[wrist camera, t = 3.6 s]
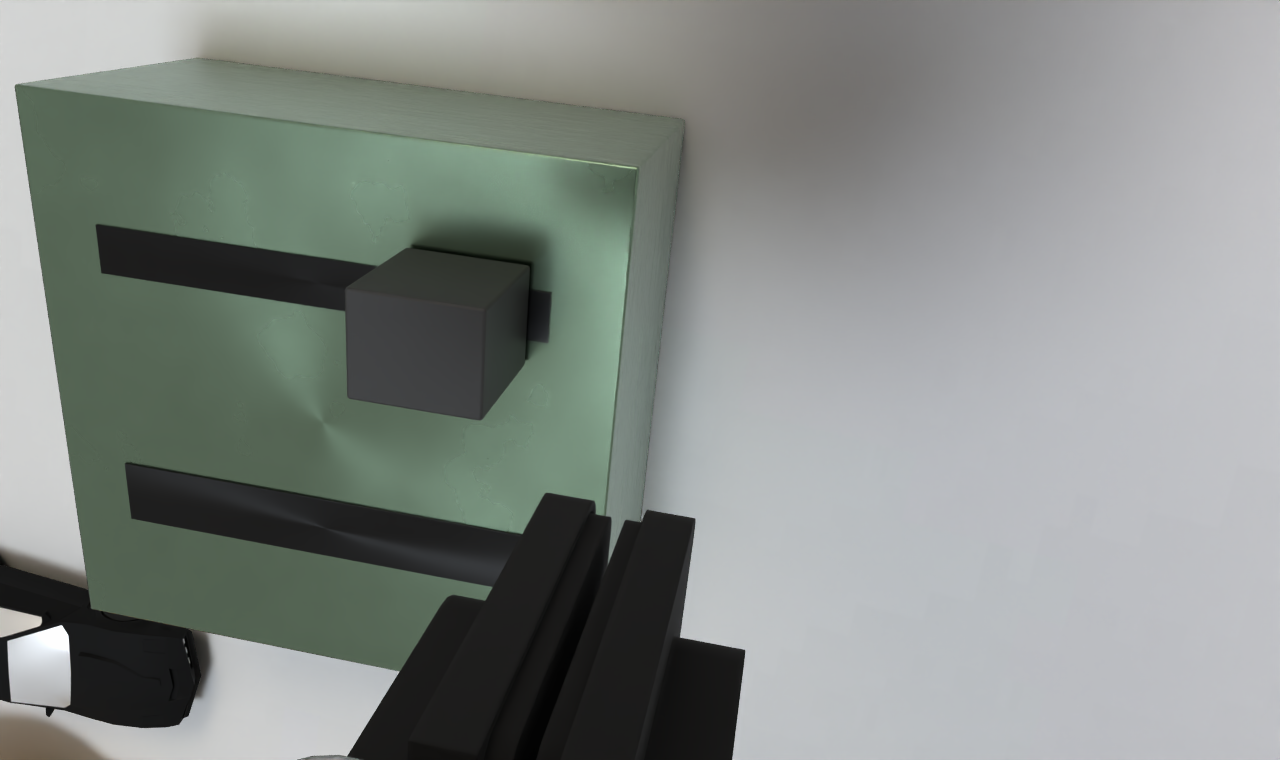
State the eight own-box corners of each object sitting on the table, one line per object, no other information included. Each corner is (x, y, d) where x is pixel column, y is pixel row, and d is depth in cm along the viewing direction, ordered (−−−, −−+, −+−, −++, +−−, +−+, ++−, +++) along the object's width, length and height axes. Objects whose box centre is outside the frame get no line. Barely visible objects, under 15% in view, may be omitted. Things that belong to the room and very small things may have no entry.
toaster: (197, 57, 24) (10, 84, 19) (685, 119, 23) (638, 167, 17) (229, 488, 29) (88, 611, 24) (635, 563, 28) (586, 712, 22)
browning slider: (405, 246, 19) (343, 287, 16) (530, 264, 18) (486, 309, 16) (405, 346, 19) (345, 399, 17) (525, 365, 19) (481, 422, 17)
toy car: (215, 612, 31) (161, 668, 28) (210, 712, 33) (160, 772, 30) (-79, 524, 32) (-156, 572, 29) (-69, 626, 33) (-141, 678, 31)
